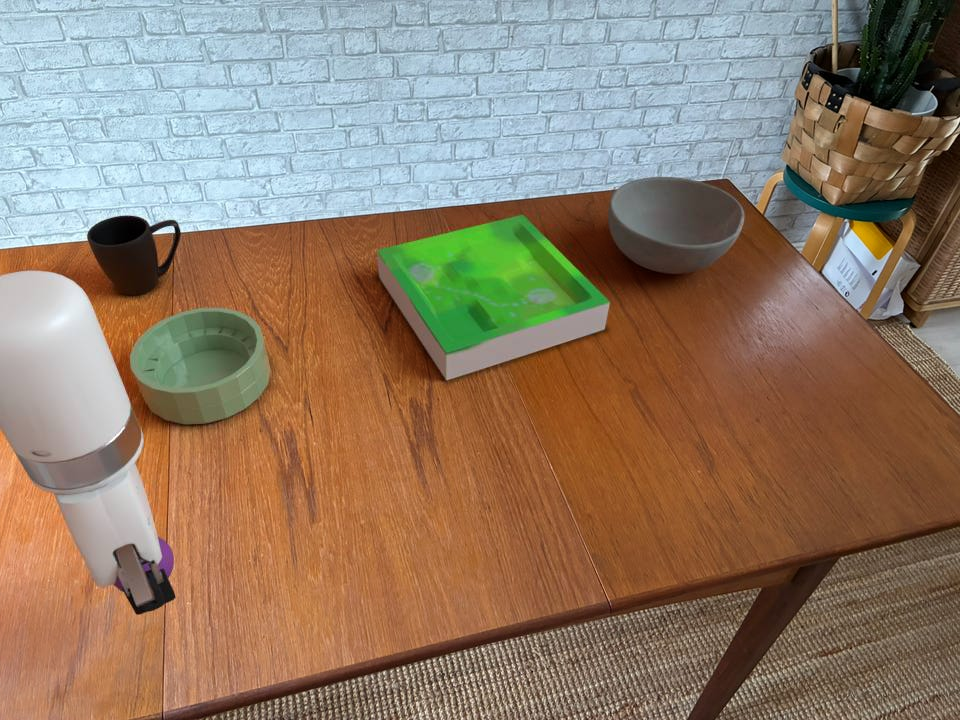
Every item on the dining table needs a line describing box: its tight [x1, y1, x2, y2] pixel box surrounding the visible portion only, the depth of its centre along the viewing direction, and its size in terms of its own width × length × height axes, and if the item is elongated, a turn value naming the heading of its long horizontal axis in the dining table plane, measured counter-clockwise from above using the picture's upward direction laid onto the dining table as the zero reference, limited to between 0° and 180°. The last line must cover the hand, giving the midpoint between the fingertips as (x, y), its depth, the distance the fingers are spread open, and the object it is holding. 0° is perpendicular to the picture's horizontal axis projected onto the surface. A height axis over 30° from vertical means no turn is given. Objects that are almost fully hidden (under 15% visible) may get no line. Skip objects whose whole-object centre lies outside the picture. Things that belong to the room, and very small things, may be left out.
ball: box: [113, 536, 175, 593], centre depth 60 cm, size 5×5×5 cm
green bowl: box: [129, 307, 272, 425], centre depth 89 cm, size 16×16×6 cm
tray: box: [376, 214, 611, 381], centre depth 103 cm, size 25×25×5 cm
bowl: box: [607, 176, 745, 275], centre depth 111 cm, size 20×20×10 cm
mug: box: [86, 214, 182, 297], centre depth 103 cm, size 8×12×10 cm
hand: (147, 577), depth 61 cm, fingers closed on ball, 4 cm apart
